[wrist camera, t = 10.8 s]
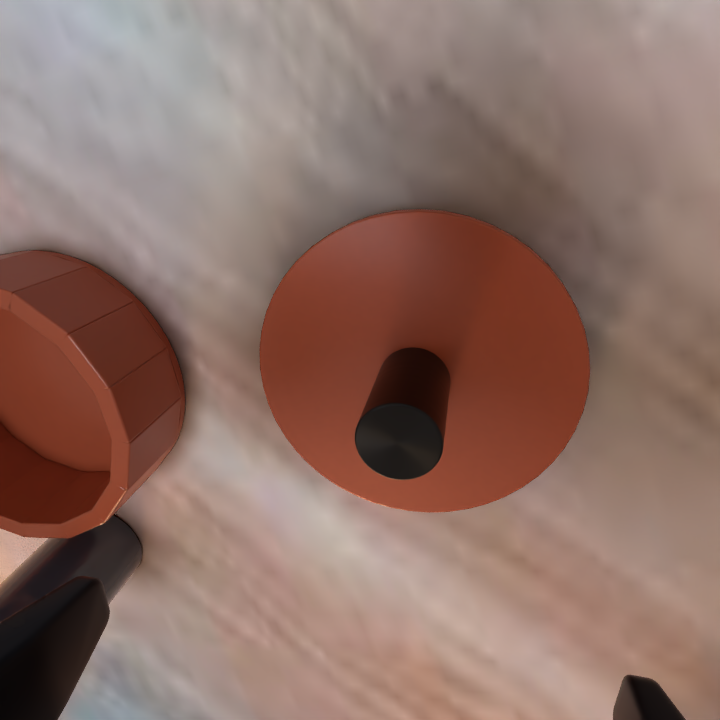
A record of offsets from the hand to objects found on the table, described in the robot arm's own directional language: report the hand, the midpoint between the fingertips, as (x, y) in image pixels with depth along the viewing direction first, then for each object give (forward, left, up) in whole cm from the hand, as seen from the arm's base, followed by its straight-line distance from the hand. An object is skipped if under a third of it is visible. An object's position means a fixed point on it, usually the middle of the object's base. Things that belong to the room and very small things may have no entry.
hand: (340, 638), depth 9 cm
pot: (+14, -1, -11) cm, 18 cm away
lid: (0, 0, -10) cm, 10 cm away
